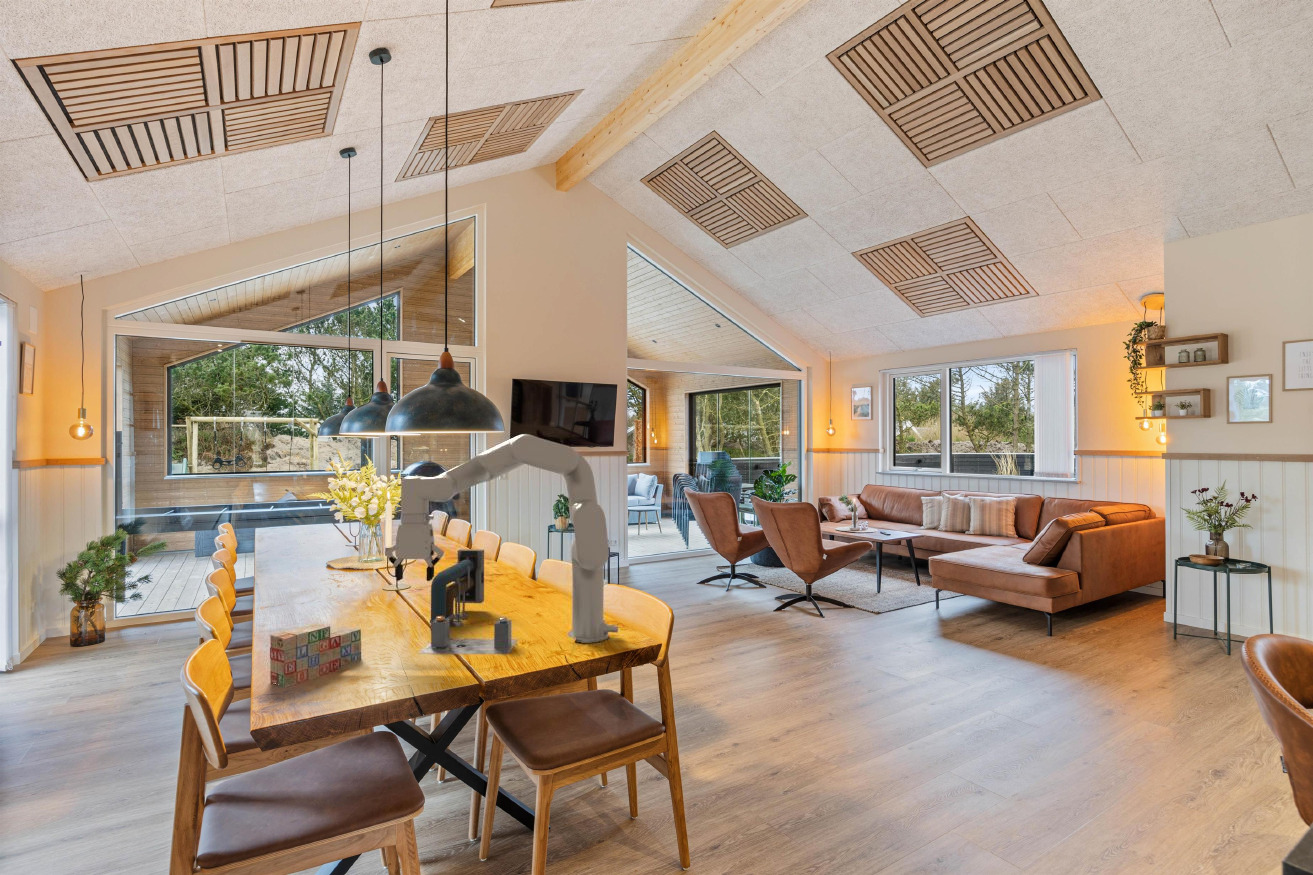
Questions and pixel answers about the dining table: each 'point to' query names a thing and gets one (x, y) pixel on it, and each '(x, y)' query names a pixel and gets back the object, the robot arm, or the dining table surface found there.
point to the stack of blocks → (311, 652)
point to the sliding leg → (440, 632)
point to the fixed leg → (502, 633)
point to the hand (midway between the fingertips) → (414, 579)
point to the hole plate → (468, 647)
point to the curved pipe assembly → (458, 586)
